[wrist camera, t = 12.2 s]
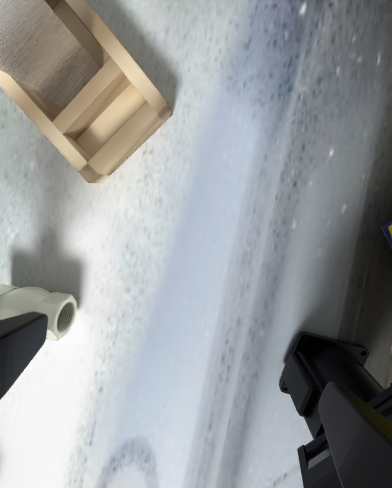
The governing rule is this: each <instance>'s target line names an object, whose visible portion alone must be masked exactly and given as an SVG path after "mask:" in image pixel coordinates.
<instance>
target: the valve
mask: <svg viewBox="0 0 392 488" xmlns="http://www.w3.org/2000/svg"><path fill="white" fill-rule="evenodd" d="M32 311H36V312H40V313H44V314H46V315H47V316H48V326H47V336H46V339H49V340H56V341H58V340H59V339H61V338H62V337H63V336H64V335H66V334H67V332H68V331H69V330H70V328H71V326H72V324H73V322H74V320H75V317H76V312H77V303H76V300H75V298H74V297H73V296H72V295H71V294H66V293H59V292H54V293H51V292H49V291H47V290H46V289H43V288H39V287H22V288H19V287H18V286H12V285H5V284H0V320H2V319H6V318H10V317H14V316H17V315H21V314H25V313H28V312H32Z"/></svg>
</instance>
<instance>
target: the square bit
mask: <svg viewBox="0 0 392 488" xmlns="http://www.w3.org/2000/svg"><path fill="white" fill-rule="evenodd" d="M100 69H101V68H100V67H99V66H98V65H97V63H96V62H95V61H94V60H93V58H92V57H91V56H90V55H89V54H88V52H87V51H86V50H85V49H84V48H83V46H82V45H81V44H80V43H79V41H78V40H77V39H76V38H75V37H74V35H73V34H72V33H71V32H70V31H69V29H68V28H67V27H66V26H65V25H64V23H63V22H62V21H61V20H60V18H59V17H58V16H57V15H56V14H55V12H54V11H53V10H52V9H51V8H50V6H49V5H48V4H47V3H46V2H45V0H0V70H2V71H3V72H5V73H7V74H8V75H10V76H11V77H13V78H15V79H16V80H18V81H20V82H21V83H23V84H25V85H26V86H28V87H30V88H31V89H33V90H35V91H36V92H38V93H39V94H41V95H43V96H44V97H46V98H48V99H49V100H51V101H53V102H54V103H56V104H58V105H59V106H61V107H62V108H64V109H65V108H66V106H67V105H68V104H69V103H70V102H71V101H72V100H73V99H74V98H75V97H76V96H77V94H78V93H79V92H80V91H81V90H82V89H83V88H84V87H85V86H86V85H87V83H88V82H89V81H90V80H91V79H92V78H93V77H94V76H95V75H96V74H97V72H98V71H99V70H100Z"/></svg>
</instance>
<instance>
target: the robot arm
mask: <svg viewBox="0 0 392 488" xmlns="http://www.w3.org/2000/svg"><path fill="white" fill-rule="evenodd" d="M47 326H48V316H47V315H46V314H44V313H40V312H36V311H32V312H28V313H25V314H21V315H17V316H14V317H10V318H6V319H2V320H0V400H1V398H2V397H3V396H4V395H5V394H6V393H7V391H8V390H9V389H10V388H11V386H12V385H13V384H14V382H15V381H16V380H17V378H18V377H19V376H20V375H21V373H22V372H23V371H24V369H25V368H26V367H27V365H28V364H29V363H30V361H31V360H32V359H33V357H34V356H35V355H36V354H37V352H38V351H39V350H40V348H41V347H42V346H43V344H44V342H45V340H46V336H47ZM304 337H306V338H305V339H303V338H304ZM362 351H363V352H362ZM361 352H362V353H361ZM368 356H369V351H368V350H367V349H366V348H365V347H364V346H361V345H356V344H352V343H348V342H344V341H340V340H336V339H332V338H328V337H323V336H319V335H315V334H311V333H307V332H301V333H300V334H299V335H298V337H297V339H296V342H295V345H294V347H293V350H292V352H291V353H290V354H289V357H288V359H287V362H286V365H285V367H284V370H283V372H282V378H281V381H280V383H279V387H280V390H281V391H282V392H284V393H287V394H290V395H291V398H292V400H293V403H294V405H295V407H296V410H297V412H298V414H299V415H300V416H303V417H304V419H305V421H306V423H307V425H308V428H309V430H310V432H311V434H312V437H313V439H314V440H312V441H311V442H309V443H308V444H307V445H302V446H301V447H299V448H298V449H297V450H298V456H299V462H300V468H301V474H302V480H303V486H304V488H392V383H391V384H390V385H391V386H390V387H388V388H387V389H384V388H383V387H382V386H381V385H380V384H379V383H378V382H377V381H376V380H375V379H374V378H373V376H372V375H371V374H370V373H369V372H368V371H367V370H366V369H365V368H364V367H363V366H364V364H365V362H366V360H367V358H368ZM285 386H286V387H285Z"/></svg>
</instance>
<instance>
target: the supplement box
mask: <svg viewBox="0 0 392 488" xmlns="http://www.w3.org/2000/svg"><path fill="white" fill-rule="evenodd" d="M381 228H382V230H383V232H384V234H385V236H386V238H387V240H388V242H389V245H390V247H391V250H392V221H390V222H388V223H386V224H384V225H383V226H382V227H381Z"/></svg>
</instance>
